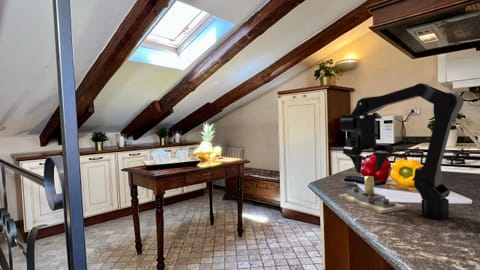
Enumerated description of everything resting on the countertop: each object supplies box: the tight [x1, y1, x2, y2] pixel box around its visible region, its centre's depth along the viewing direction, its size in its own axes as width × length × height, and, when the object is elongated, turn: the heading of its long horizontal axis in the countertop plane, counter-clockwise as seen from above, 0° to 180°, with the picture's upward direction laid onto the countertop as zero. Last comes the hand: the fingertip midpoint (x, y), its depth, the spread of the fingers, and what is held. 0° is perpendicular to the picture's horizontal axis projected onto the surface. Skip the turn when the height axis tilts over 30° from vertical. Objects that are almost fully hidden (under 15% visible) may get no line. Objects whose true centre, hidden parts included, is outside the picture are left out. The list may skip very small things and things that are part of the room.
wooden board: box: [338, 193, 407, 214], centre depth 103 cm, size 22×11×1 cm, turn 17°
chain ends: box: [346, 186, 396, 208], centre depth 103 cm, size 19×8×3 cm, turn 17°
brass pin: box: [363, 175, 375, 197], centre depth 103 cm, size 3×3×9 cm
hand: (368, 171), depth 103 cm, fingers open, 9 cm apart
